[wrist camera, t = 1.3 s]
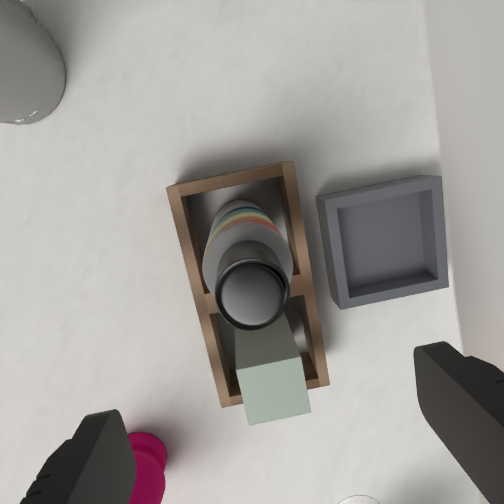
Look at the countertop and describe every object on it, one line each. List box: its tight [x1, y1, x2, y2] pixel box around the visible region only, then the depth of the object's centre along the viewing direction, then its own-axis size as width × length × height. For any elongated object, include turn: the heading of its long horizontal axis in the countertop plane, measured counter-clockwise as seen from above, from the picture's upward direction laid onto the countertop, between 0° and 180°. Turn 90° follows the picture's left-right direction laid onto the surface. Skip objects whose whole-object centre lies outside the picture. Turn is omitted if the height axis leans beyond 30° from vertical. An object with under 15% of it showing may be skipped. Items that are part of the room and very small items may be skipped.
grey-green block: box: [235, 312, 311, 426], centre depth 34 cm, size 5×5×12 cm
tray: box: [316, 175, 449, 310], centre depth 36 cm, size 11×11×4 cm
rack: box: [166, 161, 330, 408], centre depth 36 cm, size 22×11×5 cm, turn 11°
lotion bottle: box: [202, 200, 293, 331], centre depth 27 cm, size 6×6×20 cm
